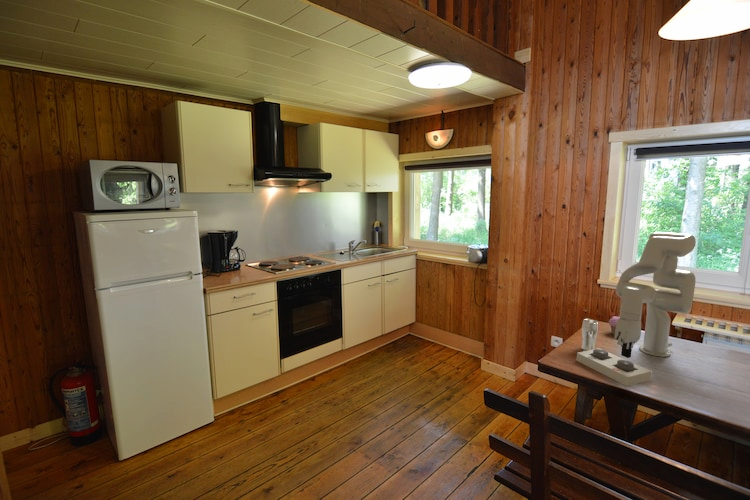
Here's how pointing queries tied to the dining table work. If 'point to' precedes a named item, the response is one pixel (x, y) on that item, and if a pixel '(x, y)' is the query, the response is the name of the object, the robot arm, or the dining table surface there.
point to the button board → (614, 368)
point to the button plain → (600, 354)
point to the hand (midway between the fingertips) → (625, 356)
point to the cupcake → (613, 323)
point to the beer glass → (589, 334)
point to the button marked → (625, 365)
